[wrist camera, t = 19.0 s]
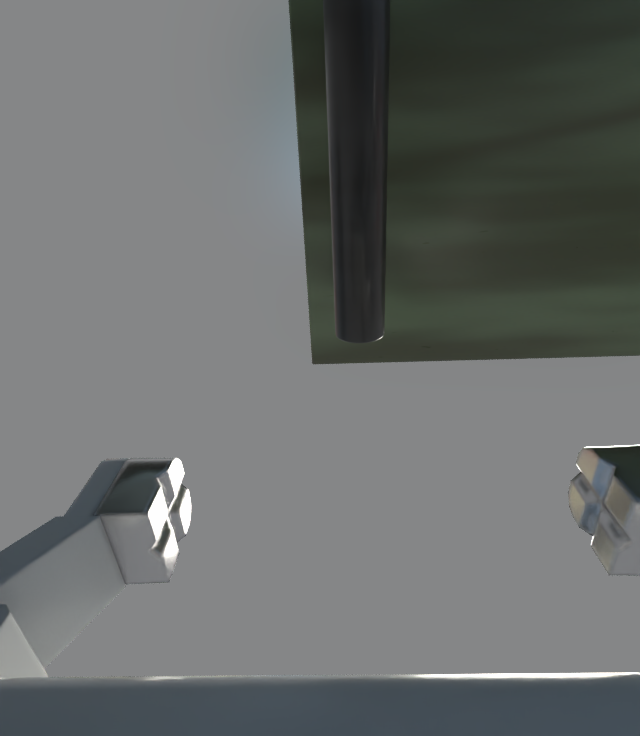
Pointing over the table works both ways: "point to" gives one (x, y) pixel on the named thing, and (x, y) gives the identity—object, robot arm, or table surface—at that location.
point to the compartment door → (469, 177)
